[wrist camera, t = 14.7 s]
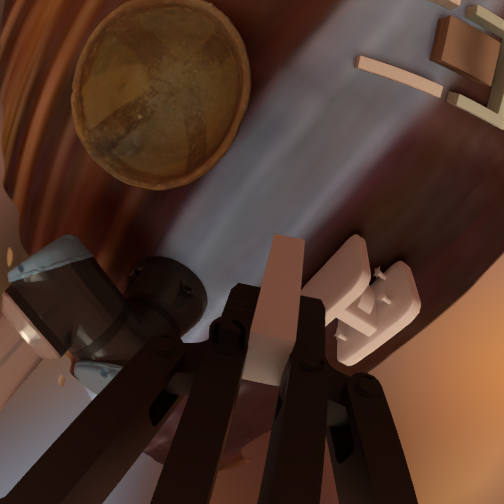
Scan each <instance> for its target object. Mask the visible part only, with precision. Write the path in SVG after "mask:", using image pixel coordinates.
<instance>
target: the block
mask: <svg viewBox="0 0 504 504" xmlns="http://www.w3.org/2000/svg"><path fill="white" fill-rule="evenodd" d="M500 44H501V43H499V42H498V41H496V40H495V39H493V38H491V37H490V36H488V35H486V34H485V33H483V32H481V31H480V30H478V29H476V28H474V27H472V26H471V25H469V24H467V23H465V22H463V21H461V20H459V19H457V18H455V17H454V16H452V15H450V16H447V17H444V18H441V19H439V20H438V25H437V29H436V34H435V38H434V43H433V47H432V51H431V55H430V59H429V60H430V61H433V62H435V63H437V64H439V65H441V66H444V67H446V68H448V69H450V70H452V71H454V72H456V73H458V74H460V75H462V76H464V77H466V78H467V79H469V80H471V81H473V82H475V83H478V84H483V85H488V86H491V84H492V80H493V76H494V72H495V68H496V63H497V59H498V54H499V49H500Z"/></svg>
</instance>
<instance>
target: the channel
mask: <svg viewBox="0 0 504 504" xmlns="http://www.w3.org/2000/svg"><path fill="white" fill-rule="evenodd" d="M429 1H432V2H434V3H436V4H438V5H441V6H443V7H445V8H447V9H449V10H450V9H453V8H455V7H458V6H460V2H461V0H429ZM355 68H356V69H360V70H363V71H366V72H369V73H373V74H376V75H379V76H382V77H385V78H388V79H390V80H393V81H396V82H399V83H401V84H404V85H407V86H409V87H412V88H415V89H417V90H420V91H422V92H425V93H427V94H429V95H432V96H435V97H438V98H440V96H441V93H442V89H443V86H441V85H439V84H437V83H434V82H432V81H430V80H427V79H425V78H423V77H420V76H418V75H415V74H413V73H410V72H407V71H405V70H402V69H399V68H397V67H394V66H391V65H388V64H385V63H382V62H379V61H376V60H373V59H370V58H367V57H364V56H358V57H357V60H356V64H355Z"/></svg>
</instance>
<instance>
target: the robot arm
mask: <svg viewBox="0 0 504 504" xmlns="http://www.w3.org/2000/svg"><path fill="white" fill-rule="evenodd" d="M304 244H305V240H302V239H298V238H293V237H288V236H283V235H279V234H274V238H273V242H272V246H271V250H270V254H269V258H268V262H267V266H266V270H265V274H264V278H263V282H262V286H261V288H260V287H256V286H251V285H246V284H242V283H238V284H237V285H236V286H234V287H233V288H232V289H231V291H230V294H229V297H228V300H227V302H226V305H225V307H224V310H223V313H222V316H221V317H219V318H217V319H215V320H214V321H213V322H212V323H211V325H210V329H209V339H208V340H206V341H203V342H199V343H183V341H182V339H180V338H181V337H182V336H183V335H185V334H186V333H187V332H188V331H189V330H190V329H191V328H193V327H194V326H195V325H196V324H197V323H198V322H199V321H200V319H201V318H202V316H203V314H204V312H205V309H206V306H207V296H206V292H205V289H204V287H203V285H202V284H201V282H200V281H199V279H198V278H197V277H196V276H195V275H194V274H193V273H192V272H191V271H190V270H189V269H187V268H186V267H185V266H183V265H181V264H180V263H178V262H176V261H173V260H171V259H167V258H163V257H149V258H146V259H143V260H141V261H140V262H139V263H138V264H137V265H136V266H135V267H134V268H133V270H132V271H131V272H130V274H129V276H128V279H127V282H126V286H125V290H124V293H123V295H122V294H121V293H120V291H119V290H118V289H117V288H116V286H115V285H114V284H113V282H112V281H111V280H110V279H109V277H108V276H107V275H106V273H105V272H104V271H103V269H102V268H101V267H100V265H99V264H98V263H97V261H96V260H95V258H94V257H93V256H94V255H93V254H92V253H90V252H89V251H88V249H87V248H86V247H85V246H84V244H83V243H82V242H81V241H80V239H79V238H78V237H77V236H75V235H73V234H66V235H63V236H61V237H59V238H58V239H56V240H55V241H53V242H51V243H50V244H48V245H47V246H45V247H44V248H42V249H40V250H39V251H37V252H36V253H35V254H33V255H32V256H30V257H29V258H27V259H26V260H25V261H23V262H22V263H20V264H19V265H18V266H16V267H15V268H13V269H12V270H11V271H9V272H8V279H9V282H10V283H11V282H12V284H11V285H10V286H9V287H8V288H7V289H6V290H5V291H4V292H3V303H2V310H1V311H0V411H1V410H2V408H3V407H4V406H5V405H6V403H7V402H8V401H9V400H10V398H11V397H12V396H13V395H14V394H15V392H16V391H17V390H18V389H19V388H20V386H21V385H22V384H23V383H24V382H25V380H26V379H27V378H28V377H29V376H30V375H31V373H32V372H33V371H34V370H35V369H36V368H37V367H38V365H39V364H40V363H41V362H42V361H43V360H44V359H47V358H52V359H60V358H61V357H62V356H63V355H64V354H65V352H66V351H67V350H68V351H69V352H70V353H71V354H72V355H73V356H74V357H75V358H76V359H77V360H78V362H77V363H76V364H75V368H74V374H75V376H77V379H78V380H79V381H80V382H81V383H82V384H83V385H84V386H85V387H87V388H88V389H89V390H91V391H92V392H94V393H96V394H97V396H96V397H95V398H94V399H93V400H92V402H91V403H90V404H89V405H88V406H87V407H86V408H85V409H84V410H83V411H82V412H81V413H80V415H79V416H78V417H77V418H76V419H75V420H74V421H73V422H72V423H71V424H70V426H69V427H68V428H67V429H66V430H65V431H64V432H63V433H62V434H61V435H60V437H59V438H58V439H57V440H56V441H55V442H54V443H53V444H52V445H51V447H49V449H48V450H47V451H46V452H45V453H44V454H43V455H42V456H41V457H40V459H39V460H38V461H37V462H36V463H35V464H34V465H33V466H32V467H31V469H30V470H29V471H28V472H27V473H26V474H25V475H24V476H23V477H22V479H21V480H20V481H19V482H18V483H17V484H16V485H15V486H14V488H13V489H12V490H11V491H10V492H9V493H8V494H7V495H6V496H5V497H3V498H1V499H0V504H102V503H103V502H104V501H105V499H106V498H107V497H108V496H109V494H110V493H111V492H112V491H113V489H114V488H115V487H116V486H117V484H118V483H119V482H120V480H121V479H122V478H123V477H124V475H125V474H126V472H127V471H128V470H129V469H130V468H131V466H132V465H133V464H134V462H135V461H136V460H137V458H138V457H139V456H140V454H141V453H142V452H143V451H144V449H145V448H146V447H147V445H148V444H149V443H150V441H151V440H152V439H153V437H154V436H155V435H156V433H157V432H158V431H159V429H160V428H161V427H162V425H163V424H164V423H165V421H166V420H167V419H168V417H169V416H170V415H171V413H172V412H173V411H174V409H175V408H176V407H177V405H178V404H179V403H180V401H181V400H182V399H183V397H184V396H185V395H189V397H188V400H187V403H186V405H185V408H184V411H183V414H182V416H181V419H180V422H179V425H178V427H177V430H176V433H175V436H174V438H173V441H172V444H171V447H170V450H169V452H168V455H167V458H166V461H165V463H164V466H163V469H162V472H161V475H160V477H159V480H158V483H157V486H156V489H155V491H154V494H153V497H152V500H151V503H150V504H209V503H210V499H211V496H212V492H213V488H214V485H215V481H216V477H217V473H218V470H219V466H220V462H221V458H222V455H223V451H224V447H225V443H226V439H227V435H228V432H229V428H230V424H231V420H232V416H233V412H234V408H235V404H236V400H237V396H238V392H239V388H240V383H241V379H246V380H250V381H255V382H260V383H265V384H270V385H275V386H280V391H279V394H278V397H277V399H276V402H275V404H274V407H273V408H275V412H274V418H273V424H272V429H271V435H270V440H269V446H268V451H267V457H266V462H265V467H264V473H263V478H262V483H261V488H260V492H259V498H258V502H257V504H319V503H320V494H321V484H322V475H323V464H324V451H325V438H327V443H328V447H329V453H330V458H331V463H332V468H333V473H334V479H335V484H336V489H337V494H338V500H339V504H418V502H417V498H416V494H415V490H414V487H413V483H412V480H411V476H410V473H409V469H408V466H407V462H406V459H405V456H404V452H403V449H402V446H401V443H400V439H399V436H398V433H397V430H396V427H395V424H394V421H393V418H392V415H391V412H390V409H389V406H388V403H387V400H386V397H385V394H384V392H383V389H382V386H381V384H380V382H379V381H378V380H377V379H376V378H375V377H374V376H372V375H370V374H368V373H361V372H360V373H356V374H353V375H352V376H351V377H350V376H347V375H345V374H343V373H341V372H339V371H337V370H335V369H334V368H333V367H332V366H330V364H329V363H328V361H327V359H326V357H325V315H326V308H325V306H324V304H323V302H322V301H321V299H317V298H312V297H307V296H302V295H300V293H301V281H302V270H303V257H304ZM280 383H281V385H280Z"/></svg>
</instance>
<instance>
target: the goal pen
mask: <svg viewBox="0 0 504 504" xmlns="http://www.w3.org/2000/svg"><path fill="white" fill-rule="evenodd" d="M465 18H467V19H469V20H471V21H473V22H475V23H476V24H478V25H480V26H482V27H484V28H485V29H487V30H489V31H490V32H492V33H494V34H495V35H497V36H499V37H500V38H502V42H501V48H500V53H499V58H498V63H497V68H496V72H495V77H494V81H493V85H492V89H491V93H490V97H489V101H488V104H487V108H486V107H484V106H482V105H480V104H478V103H476V102H474V101H472V100H471V99H469V98H467V97H465V96H463V95H461V94H458V93H454V92H450V91H449V93H448V96H447V100H446V102H448V103H450V104H452V105H454V106H456V107H458V108H460V109H463V110H465V111H467V112H469V113H471V114H473V115H475V116H477V117H478V118H480V119H482V120H484V121H486V122H488V123H490V124H492V125H494V126H496V127H498V128H500V129H502V130H504V20H503V19H501V18H500V17H498V16H497V15H495V14H493V13H492V12H490V11H488V10H487V9H485V8H483V7H481V6H480V5H474V6H471V7H468V8H466V13H465Z"/></svg>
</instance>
